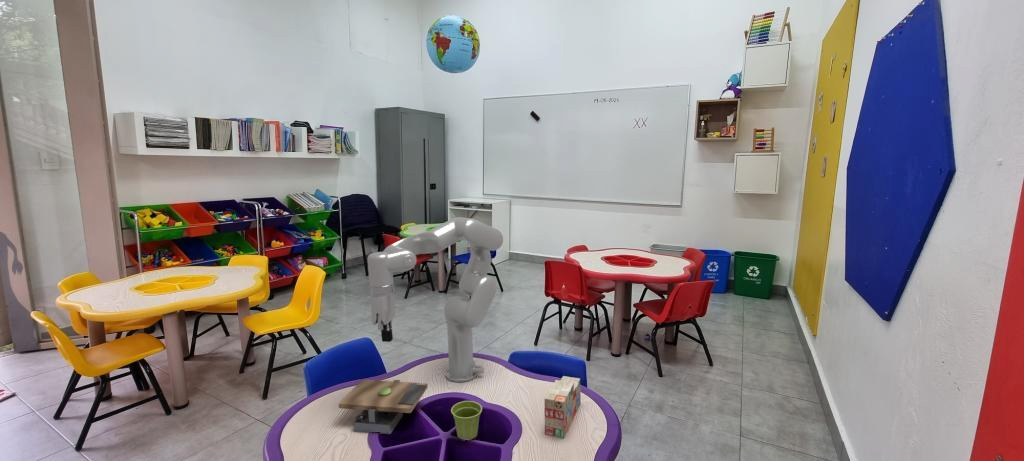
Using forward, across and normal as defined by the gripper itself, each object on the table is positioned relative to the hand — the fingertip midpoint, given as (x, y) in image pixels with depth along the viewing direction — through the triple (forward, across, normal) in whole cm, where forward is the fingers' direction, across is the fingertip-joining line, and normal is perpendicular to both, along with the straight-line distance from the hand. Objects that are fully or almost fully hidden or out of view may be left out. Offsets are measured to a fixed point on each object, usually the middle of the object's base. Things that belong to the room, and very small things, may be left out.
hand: (387, 340), depth 153 cm
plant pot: (+24, +16, +30) cm, 41 cm away
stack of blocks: (+25, +4, +59) cm, 64 cm away
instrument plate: (+17, +7, 0) cm, 18 cm away
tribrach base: (+23, +7, 0) cm, 24 cm away
